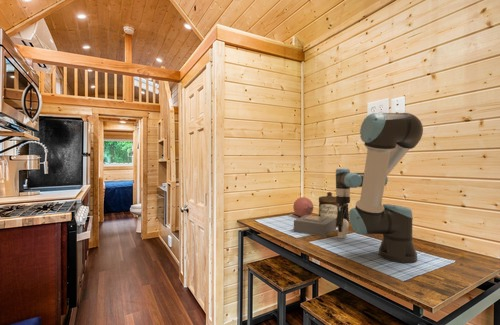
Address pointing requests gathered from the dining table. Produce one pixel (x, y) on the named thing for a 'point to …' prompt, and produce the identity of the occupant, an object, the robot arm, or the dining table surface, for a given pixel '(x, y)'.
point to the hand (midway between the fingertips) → (343, 235)
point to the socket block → (315, 226)
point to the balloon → (303, 206)
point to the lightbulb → (345, 227)
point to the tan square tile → (315, 218)
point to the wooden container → (328, 206)
